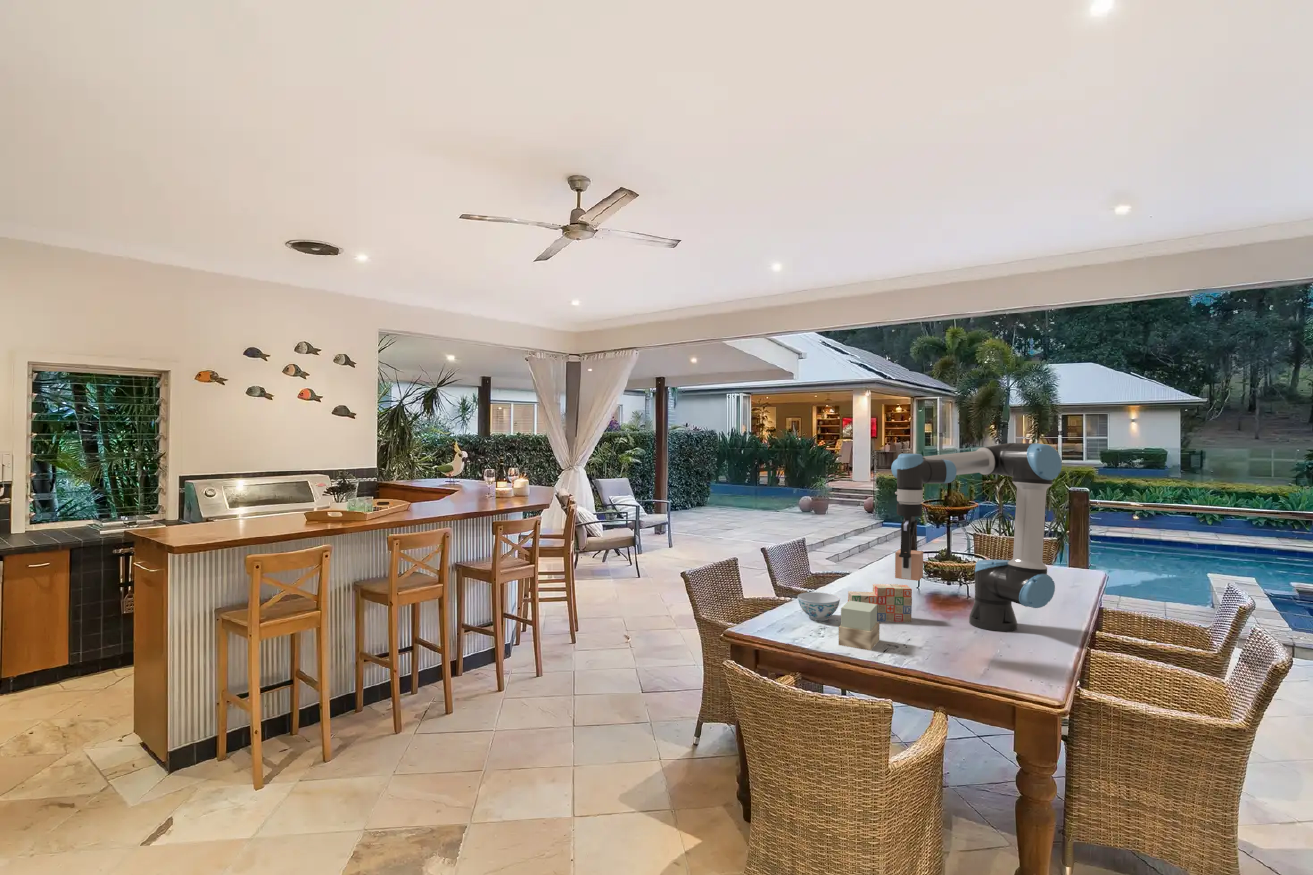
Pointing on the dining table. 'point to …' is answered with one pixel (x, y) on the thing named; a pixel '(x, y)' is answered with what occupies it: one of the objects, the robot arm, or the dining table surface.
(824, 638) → the dining table surface
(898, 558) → the terracotta block
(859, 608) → the tower top block
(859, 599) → the stack of blocks
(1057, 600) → the dining table surface
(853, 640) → the tower base block
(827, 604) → the chinaware
